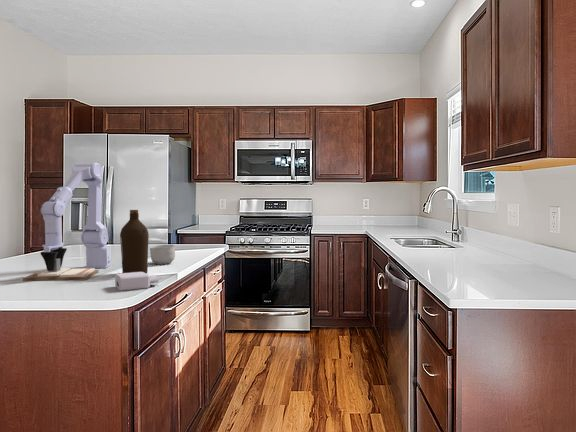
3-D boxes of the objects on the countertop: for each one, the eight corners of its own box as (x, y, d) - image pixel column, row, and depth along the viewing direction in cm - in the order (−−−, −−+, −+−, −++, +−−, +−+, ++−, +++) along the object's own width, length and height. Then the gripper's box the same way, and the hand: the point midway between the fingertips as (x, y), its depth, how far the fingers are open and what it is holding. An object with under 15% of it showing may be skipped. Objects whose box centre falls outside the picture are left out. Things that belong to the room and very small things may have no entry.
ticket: (94, 270, 195) (94, 268, 195) (83, 276, 181) (83, 274, 181) (71, 270, 194) (71, 268, 194) (58, 277, 180) (58, 274, 180)
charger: (166, 287, 168) (121, 291, 160) (158, 282, 176) (115, 286, 168) (166, 273, 167) (120, 277, 160) (158, 269, 175) (114, 273, 168)
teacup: (171, 265, 214) (171, 247, 213) (146, 265, 214) (146, 247, 214) (179, 260, 228) (179, 243, 227) (155, 260, 228) (155, 243, 227)
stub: (70, 269, 194) (70, 256, 193) (57, 276, 180) (57, 261, 180) (51, 270, 193) (51, 256, 193) (37, 276, 179) (37, 262, 179)
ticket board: (98, 272, 196) (98, 269, 196) (85, 279, 180) (85, 277, 180) (40, 273, 194) (40, 270, 194) (22, 280, 178) (22, 278, 178)
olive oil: (151, 271, 199) (151, 209, 197) (145, 275, 188) (144, 210, 187) (125, 271, 198) (124, 209, 197) (117, 276, 188) (116, 210, 186)
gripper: (49, 231, 192) (50, 266, 193) (34, 235, 178) (35, 272, 179) (68, 231, 193) (69, 265, 194) (54, 234, 179) (55, 271, 179)
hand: (54, 268), depth 186 cm, fingers open, 7 cm apart
